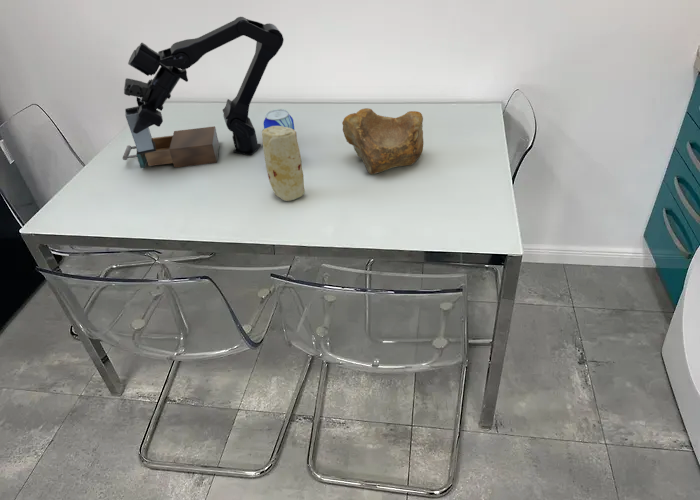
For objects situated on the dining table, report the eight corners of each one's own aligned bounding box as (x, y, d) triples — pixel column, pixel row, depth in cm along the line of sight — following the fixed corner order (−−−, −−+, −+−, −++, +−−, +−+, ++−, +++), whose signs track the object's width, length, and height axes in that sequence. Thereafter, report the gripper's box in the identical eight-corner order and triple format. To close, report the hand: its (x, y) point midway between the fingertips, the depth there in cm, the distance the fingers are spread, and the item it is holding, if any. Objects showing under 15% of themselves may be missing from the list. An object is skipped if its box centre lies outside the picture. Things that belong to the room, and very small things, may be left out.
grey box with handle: (155, 142, 168) (142, 102, 160) (156, 150, 164) (142, 109, 156) (136, 146, 167) (122, 106, 159) (137, 154, 163) (122, 113, 155)
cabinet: (174, 167, 170) (169, 149, 166) (179, 148, 179) (174, 130, 175) (216, 162, 170) (212, 144, 166) (219, 144, 180) (215, 126, 176)
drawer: (124, 170, 169) (119, 156, 166) (131, 153, 177) (126, 139, 175) (180, 163, 170) (176, 150, 167) (184, 146, 178) (180, 133, 176)
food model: (308, 190, 154) (299, 122, 142) (302, 203, 149) (292, 135, 137) (274, 188, 156) (263, 121, 144) (267, 201, 151) (254, 133, 139)
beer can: (305, 162, 166) (298, 112, 157) (283, 174, 162) (275, 123, 152) (286, 154, 171) (278, 105, 161) (265, 166, 167) (255, 115, 157)
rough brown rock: (340, 182, 158) (337, 136, 148) (345, 149, 170) (342, 104, 160) (423, 183, 156) (426, 136, 146) (422, 149, 168) (425, 104, 158)
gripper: (134, 57, 159) (107, 102, 163) (136, 80, 145) (106, 128, 149) (170, 79, 165) (143, 121, 170) (175, 103, 151) (145, 148, 156)
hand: (134, 129), depth 161 cm, fingers closed on grey box with handle, 4 cm apart
